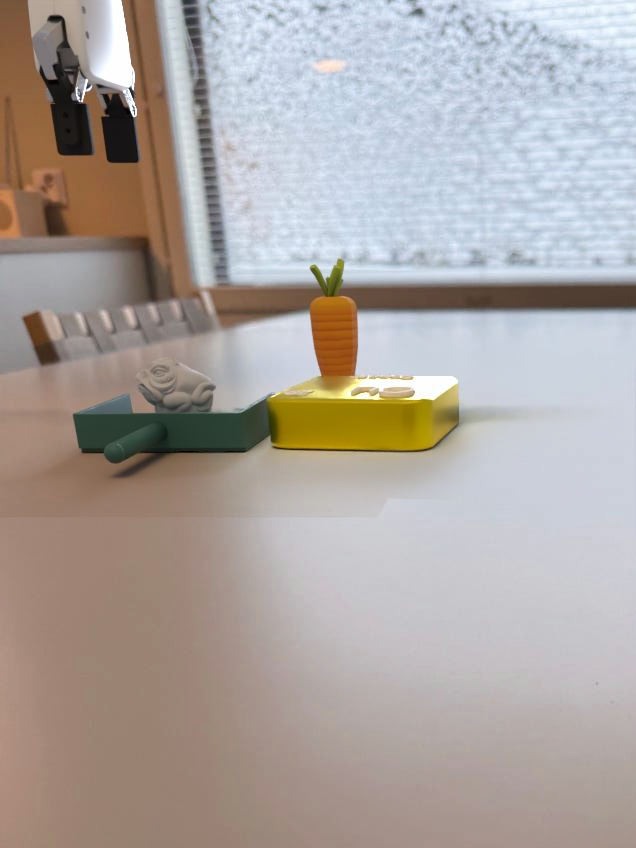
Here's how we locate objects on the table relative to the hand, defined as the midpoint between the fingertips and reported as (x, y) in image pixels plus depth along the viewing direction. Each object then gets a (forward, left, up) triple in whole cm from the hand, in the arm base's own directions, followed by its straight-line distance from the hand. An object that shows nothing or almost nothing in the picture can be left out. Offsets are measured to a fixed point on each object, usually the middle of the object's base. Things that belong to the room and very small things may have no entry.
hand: (101, 159), depth 89 cm
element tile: (+25, -8, -24) cm, 36 cm away
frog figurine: (+8, -10, -24) cm, 27 cm away
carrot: (+19, +8, -24) cm, 32 cm away
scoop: (+8, -15, -24) cm, 30 cm away
